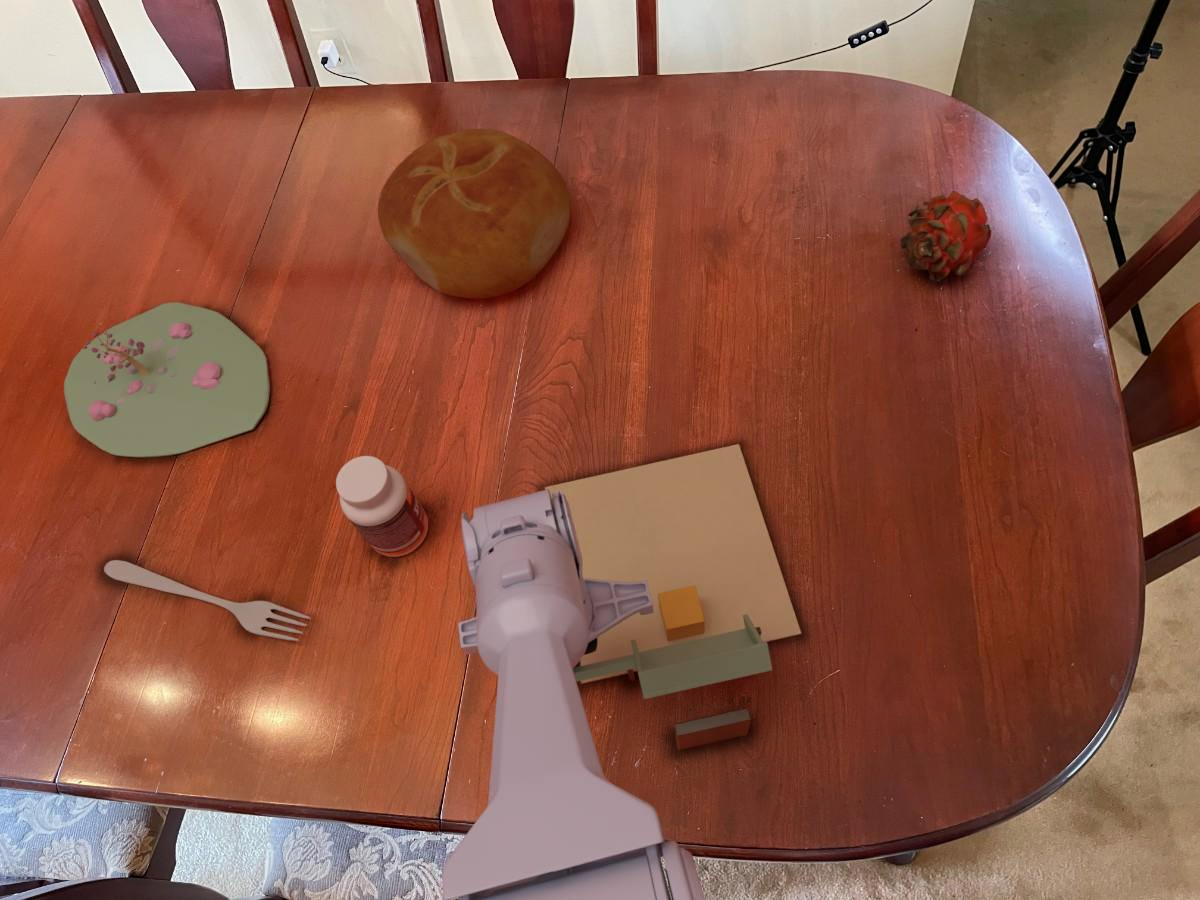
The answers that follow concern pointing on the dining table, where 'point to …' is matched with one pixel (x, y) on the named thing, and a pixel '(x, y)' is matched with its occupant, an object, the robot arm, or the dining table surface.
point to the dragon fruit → (946, 235)
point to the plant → (167, 383)
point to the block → (681, 613)
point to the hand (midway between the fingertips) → (570, 647)
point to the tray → (689, 662)
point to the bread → (475, 212)
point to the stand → (710, 725)
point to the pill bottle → (381, 506)
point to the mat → (681, 547)
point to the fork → (209, 599)
